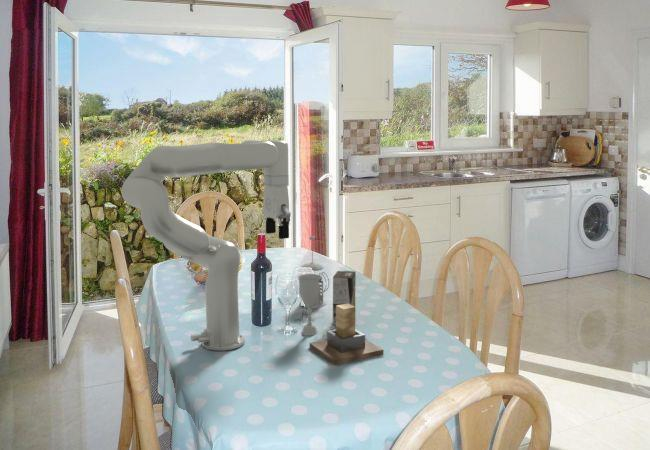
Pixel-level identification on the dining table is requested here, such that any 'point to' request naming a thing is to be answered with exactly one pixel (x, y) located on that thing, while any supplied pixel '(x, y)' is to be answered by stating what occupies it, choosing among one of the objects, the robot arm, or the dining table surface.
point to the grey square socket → (346, 341)
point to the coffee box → (343, 290)
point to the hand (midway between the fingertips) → (277, 235)
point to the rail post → (345, 320)
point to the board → (345, 357)
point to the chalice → (309, 298)
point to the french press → (316, 267)
